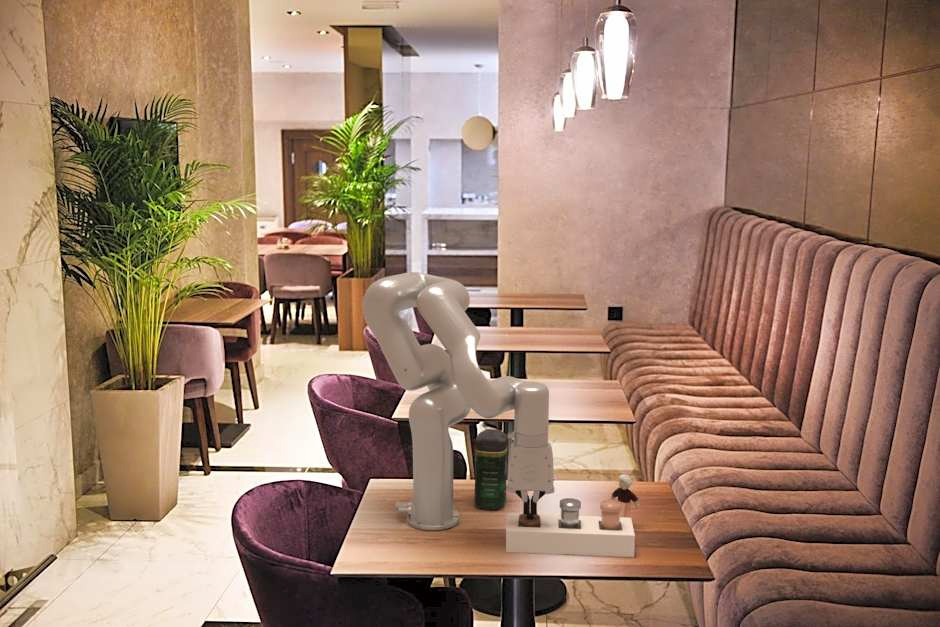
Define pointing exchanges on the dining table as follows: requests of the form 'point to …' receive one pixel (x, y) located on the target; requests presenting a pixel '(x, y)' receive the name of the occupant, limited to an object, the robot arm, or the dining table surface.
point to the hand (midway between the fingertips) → (530, 516)
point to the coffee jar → (490, 469)
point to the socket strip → (570, 537)
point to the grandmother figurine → (625, 496)
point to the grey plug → (570, 513)
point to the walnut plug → (529, 521)
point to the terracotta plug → (610, 514)
